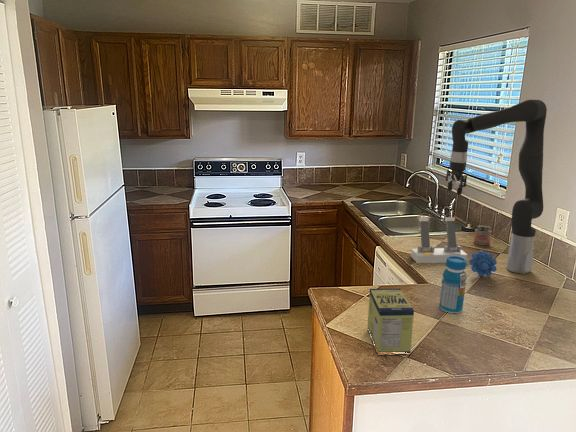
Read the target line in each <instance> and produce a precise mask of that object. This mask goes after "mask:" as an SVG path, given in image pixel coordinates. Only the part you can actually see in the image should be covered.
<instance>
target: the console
mask: <svg viewBox="0 0 576 432" xmlns="http://www.w3.org/2000/svg"><path fill="white" fill-rule="evenodd" d="M456 247H457V248H458V251H448V245H444V246H443V247H441V248H440V247H435V246H433V245H430V248H431V252H421V251H422V246H421V245H417V248H410V249H411V251H410V257H411V258H412V259H413V261H416V262H415V263H416V264H446V260H447V257H449V256H458V257H462V258H464V259H466V263H467V260H468V254H467V253H466V252H465V251H464V250H462V246H460V245H459V244H458V245H457V244H456Z"/></svg>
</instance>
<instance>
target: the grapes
mask: <svg viewBox="0 0 576 432" xmlns="http://www.w3.org/2000/svg"><path fill="white" fill-rule="evenodd" d="M468 263H469V264H470V265H471V271H472V272H474V273H477V275H478V276H480V277H484V276H486V277H491V276H492V273H494V272H497V267H496V265H497V264H498V262H497V259H496V258H493V254H492V253H491V252H485V251H484V250H482V249H481V250H478V252H477V253H476V252H473V253H472V254H471V258H470V259H469V261H468Z"/></svg>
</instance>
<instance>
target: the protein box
mask: <svg viewBox="0 0 576 432" xmlns="http://www.w3.org/2000/svg"><path fill="white" fill-rule="evenodd" d="M368 299H369V300H368V315H367V329H369V331H370V334H371V336H372V339H373V341H374V344H375V346H376V349H377V351H378V352H405V353H406V352H407V353H410V354H411V348H412V338H413V327H414V326H413V325H414V317H415V315H414V314H415V309H414V308H413V306H412V305H411V303H410V301H409V300H408V299H407V297H406V295H405V294H404V292H403V291H402V289H401V288H369V297H368Z"/></svg>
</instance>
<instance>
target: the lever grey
mask: <svg viewBox="0 0 576 432" xmlns="http://www.w3.org/2000/svg"><path fill="white" fill-rule="evenodd" d="M444 218H445V219H444V220H445V221H444V222H445V224H446V225H445V226H446V241H447V246H448V251H458V248H457V237H456V226H455V225H456V224H455V223H456V218H455V216H452V217H451V216H448V217H447V216H446V217H444Z"/></svg>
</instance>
